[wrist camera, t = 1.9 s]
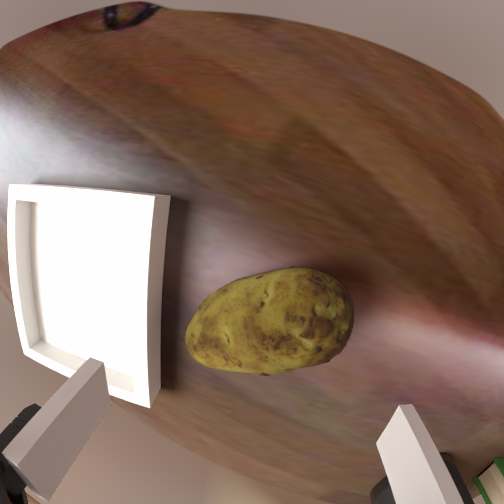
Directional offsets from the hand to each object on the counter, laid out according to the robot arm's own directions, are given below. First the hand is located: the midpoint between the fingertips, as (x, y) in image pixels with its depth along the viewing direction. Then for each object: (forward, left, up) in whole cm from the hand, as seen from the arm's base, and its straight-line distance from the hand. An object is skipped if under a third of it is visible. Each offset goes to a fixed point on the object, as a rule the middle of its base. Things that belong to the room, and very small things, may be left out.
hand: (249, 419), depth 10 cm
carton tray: (-2, +18, -14) cm, 23 cm away
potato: (0, 0, -14) cm, 14 cm away
